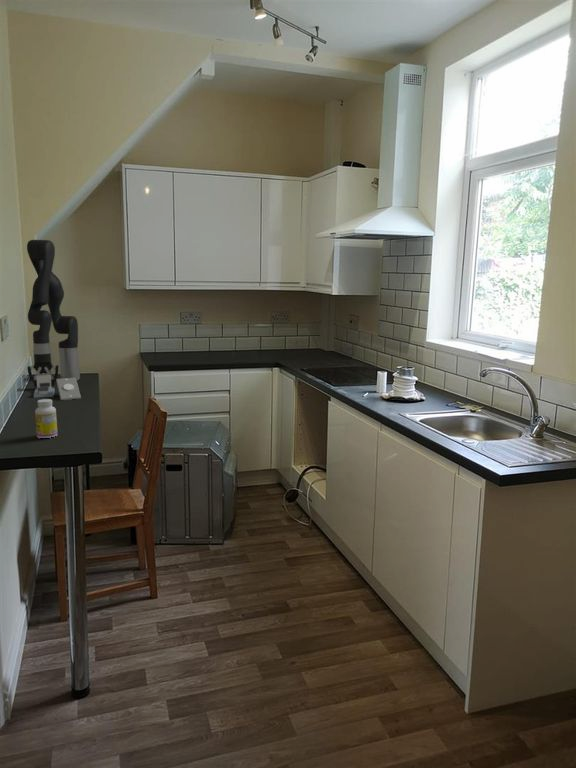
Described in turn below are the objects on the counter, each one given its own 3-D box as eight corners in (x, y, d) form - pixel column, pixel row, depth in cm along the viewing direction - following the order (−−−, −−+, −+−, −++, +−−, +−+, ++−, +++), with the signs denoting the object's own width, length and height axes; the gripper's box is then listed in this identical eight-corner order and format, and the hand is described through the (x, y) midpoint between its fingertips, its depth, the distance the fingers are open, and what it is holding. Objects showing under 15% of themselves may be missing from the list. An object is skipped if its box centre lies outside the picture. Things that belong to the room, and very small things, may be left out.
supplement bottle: (36, 435, 206) (34, 399, 204) (57, 433, 209) (54, 397, 207) (37, 440, 200) (34, 403, 198) (58, 438, 203) (55, 401, 200)
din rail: (40, 388, 280) (39, 382, 279) (50, 387, 281) (49, 382, 281) (38, 394, 267) (37, 388, 267) (48, 393, 268) (48, 387, 268)
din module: (38, 388, 286) (37, 374, 285) (51, 388, 288) (51, 373, 287) (37, 390, 282) (36, 375, 280) (51, 390, 284) (50, 375, 282)
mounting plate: (36, 391, 280) (36, 388, 279) (54, 390, 282) (54, 387, 282) (33, 397, 267) (33, 394, 266) (53, 396, 269) (52, 393, 269)
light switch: (60, 397, 260) (56, 377, 270) (60, 407, 263) (55, 387, 273) (81, 395, 264) (75, 375, 274) (80, 405, 267) (75, 385, 277)
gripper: (58, 351, 287) (60, 385, 290) (26, 352, 283) (28, 386, 286) (58, 353, 280) (60, 387, 283) (24, 354, 276) (27, 389, 279)
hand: (44, 387), depth 285 cm, fingers closed on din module, 6 cm apart
